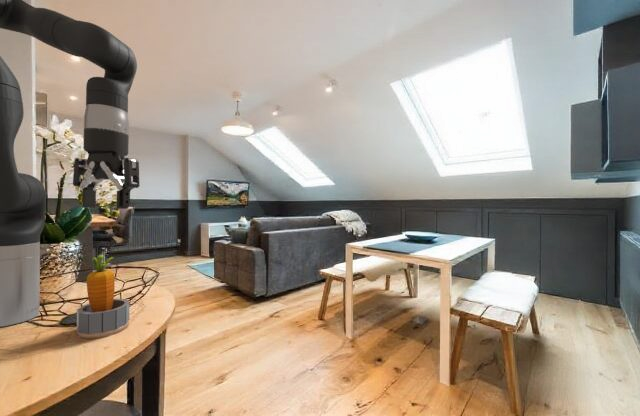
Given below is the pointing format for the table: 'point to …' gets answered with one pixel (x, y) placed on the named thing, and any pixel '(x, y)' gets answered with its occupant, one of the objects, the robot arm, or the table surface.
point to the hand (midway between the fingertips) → (105, 208)
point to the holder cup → (102, 320)
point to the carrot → (101, 286)
